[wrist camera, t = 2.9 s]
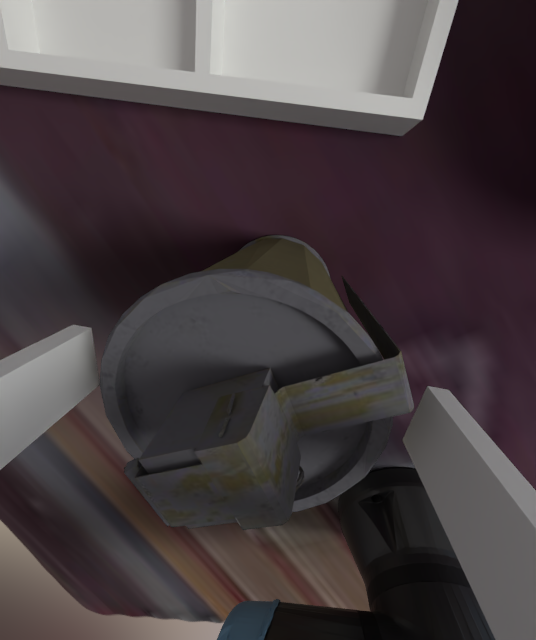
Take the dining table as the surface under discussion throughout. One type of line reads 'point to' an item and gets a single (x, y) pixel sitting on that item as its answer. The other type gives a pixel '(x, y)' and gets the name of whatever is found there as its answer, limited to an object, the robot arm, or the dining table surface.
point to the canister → (250, 389)
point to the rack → (236, 55)
